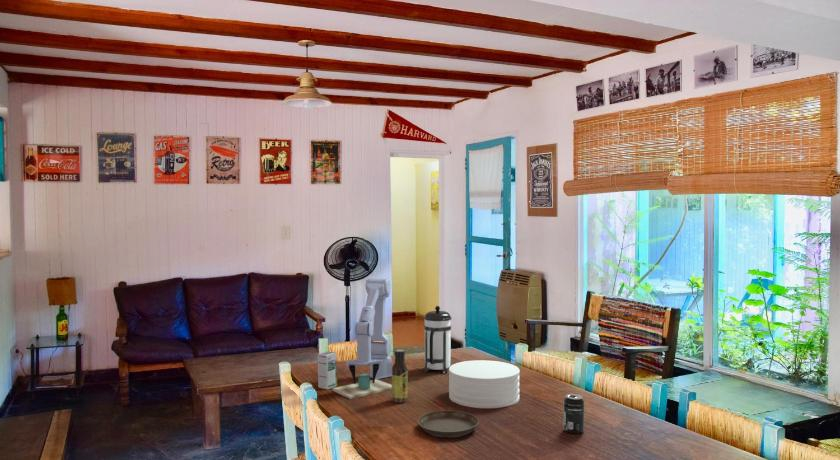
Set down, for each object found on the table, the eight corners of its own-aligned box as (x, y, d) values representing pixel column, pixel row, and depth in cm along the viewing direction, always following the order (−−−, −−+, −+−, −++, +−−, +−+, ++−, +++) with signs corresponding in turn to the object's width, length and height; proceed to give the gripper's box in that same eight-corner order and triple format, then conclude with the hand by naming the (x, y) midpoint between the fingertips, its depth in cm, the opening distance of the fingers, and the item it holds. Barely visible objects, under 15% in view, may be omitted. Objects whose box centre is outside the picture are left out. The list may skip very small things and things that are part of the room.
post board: (376, 381, 271) (376, 370, 271) (395, 388, 260) (395, 376, 260) (332, 390, 257) (332, 378, 257) (350, 398, 246) (350, 386, 246)
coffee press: (414, 368, 293) (414, 304, 292) (444, 364, 299) (444, 302, 298) (430, 377, 277) (430, 310, 276) (461, 373, 284) (462, 307, 283)
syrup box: (327, 389, 259) (327, 355, 258) (317, 387, 262) (317, 353, 262) (337, 386, 263) (337, 352, 263) (327, 384, 267) (327, 350, 266)
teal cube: (358, 385, 261) (358, 374, 260) (369, 385, 261) (369, 373, 261) (358, 389, 256) (358, 377, 256) (370, 388, 256) (370, 376, 256)
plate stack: (437, 402, 243) (437, 373, 242) (465, 383, 268) (465, 357, 267) (505, 412, 230) (505, 382, 230) (528, 392, 255) (528, 364, 254)
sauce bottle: (405, 403, 240) (405, 352, 239) (389, 402, 241) (389, 352, 241) (409, 398, 246) (409, 349, 246) (394, 397, 248) (393, 348, 247)
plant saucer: (428, 443, 200) (428, 433, 200) (411, 422, 220) (411, 413, 220) (487, 437, 206) (487, 427, 206) (465, 416, 226) (465, 407, 226)
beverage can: (568, 426, 216) (569, 391, 215) (587, 430, 211) (587, 395, 211) (559, 431, 210) (560, 396, 210) (578, 436, 206) (579, 400, 206)
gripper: (346, 353, 253) (346, 386, 254) (382, 352, 255) (382, 384, 255) (346, 349, 260) (346, 381, 261) (380, 348, 262) (381, 380, 262)
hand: (364, 382), depth 258 cm, fingers open, 7 cm apart
